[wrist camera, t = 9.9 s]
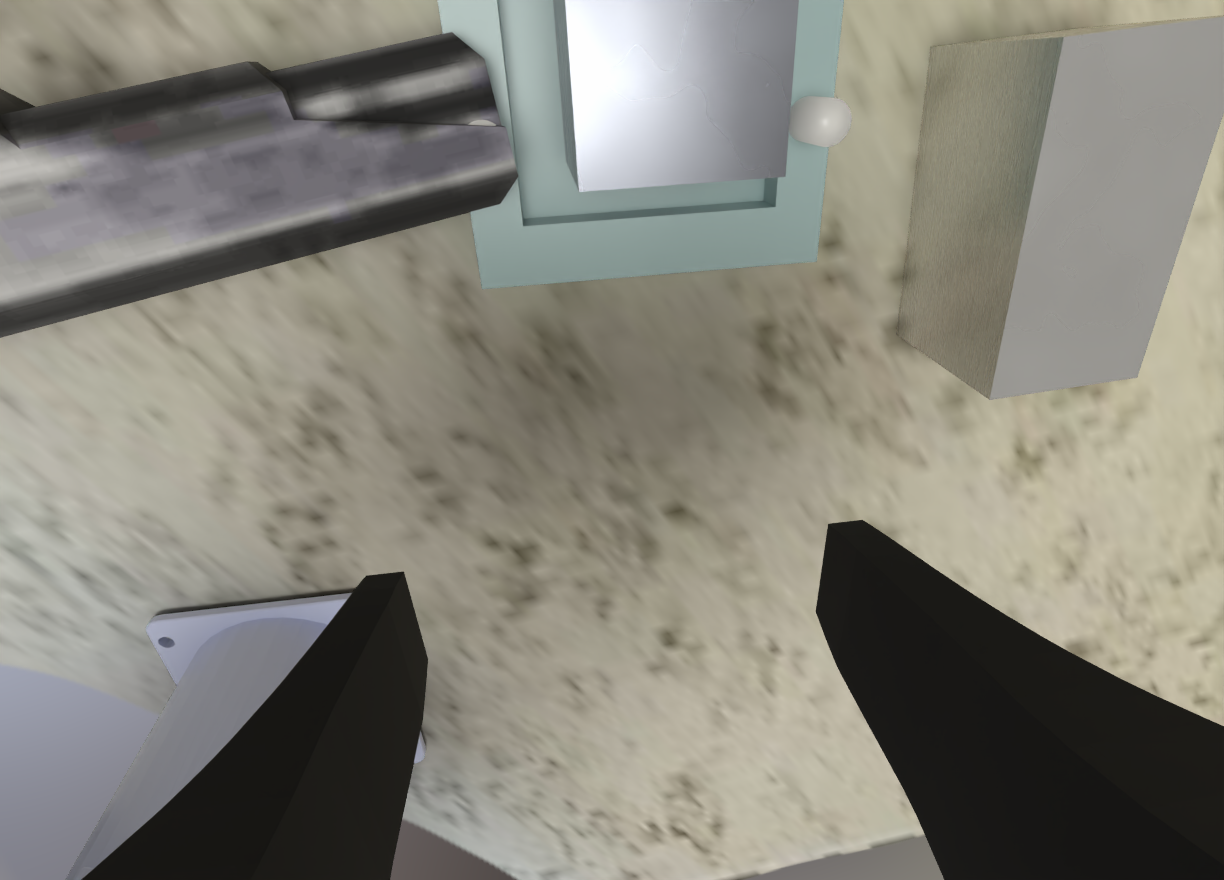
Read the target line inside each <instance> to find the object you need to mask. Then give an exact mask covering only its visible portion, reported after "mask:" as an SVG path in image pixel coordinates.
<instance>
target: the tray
mask: <svg viewBox="0 0 1224 880" xmlns="http://www.w3.org/2000/svg"><path fill="white" fill-rule="evenodd" d="M843 4H844V0H799V6H798V19H797V32H796V45H795V59H794V72H793V85H792V98H791V111H790V124H789V138H788V151H787V164H786V177H778V178H764V179H750V180H737V181H723V182H709V183H695V184H682V185H668V186H654V187H641V188H627V189H613V190H599V191H586V192H579V191H578V189H577V186H576V184H575V181H574V179H573V177H572V174H571V172H570V170H569V167H568V165H567V163H566V156H565V143H564V131H563V119H562V106H561V94H560V81H559V69H558V57H557V44H556V32H555V19H554V7H553V0H438V7H439V13H440V20H441V26H442V33H443V34H445V33H449V32H453V33H454V34H455V35H456V36H457V37H459V38H460V39H461V40H462V41H463V42H465V43H466V44H467V45H468V46H470V47H471V48H472V49H473V50H474V51H476V52H477V53H478V54H479V55H480V56H482V57H483V58H484V59H485V63H486V67H487V71H488V74H489V78H490V82H491V86H492V90H493V94H494V98H495V102H496V106H497V110H498V114H499V117H500V121H501V125H502V126H504V127H506V129H507V133H508V137H509V141H510V145H511V149H512V153H513V157H514V161H515V165H516V169H517V173H518V178H517V179H516V181H515V182H514V184H513V185H512V187H511V189H510V190H509V192H508V193H507V195H506V196H505V198H504V199H503V201H502V202H501V204H498V205H494V206H491V207H487V208H483V209H480V210H476V211H472V212H470V214H471V221H472V227H473V234H474V240H475V247H476V253H477V260H478V266H479V273H480V279H481V286H482V289H491V288H503V287H515V286H527V285H539V284H551V283H564V282H576V281H588V280H600V279H612V278H624V277H636V276H648V275H660V274H672V273H684V272H697V271H709V270H721V269H733V268H745V267H757V266H769V265H781V264H793V263H805V262H817V253H818V244H819V234H820V224H821V215H822V205H823V196H824V186H825V177H826V167H827V157H828V148H829V147H831V146H834V145H836V144H838V143H839V142H841V141H842V140H843V139H844V138H845V136H846V135H847V133H848V131H849V129H850V126H851V121H852V115H851V111H850V108H849V106H848V105H847V103H846V102H844V101H843V100H841V99H839V98H834V90H835V81H836V71H837V62H838V52H839V43H840V33H841V23H842V14H843ZM468 125H483V126H496V124H494V123H492V122H490V121H487V120H476V121H473V122H471V123H469V124H468Z"/></svg>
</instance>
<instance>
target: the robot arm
mask: <svg viewBox="0 0 1224 880" xmlns="http://www.w3.org/2000/svg"><path fill="white" fill-rule="evenodd" d="M816 614H817V616H818V619H819V622H820V624H821V627H822V630H823V632H824V635H825V638H826V640H827V643H828V645H829V648H830V650H831V653H832V655H833V658H834V660H835V663H836V665H837V667H838V669H839V671H840V673H841V675H842V677H843V679H844V681H845V682H846V684H847V686H848V688H849V690H850V692H851V694H852V695H853V697H854V699H855V701H856V703H857V705H858V707H859V708H860V710H861V712H862V714H863V716H864V718H865V719H866V721H867V723H868V725H869V727H870V729H871V730H872V732H873V734H874V736H875V738H876V740H877V741H878V743H879V745H880V747H881V749H882V751H883V752H884V754H885V756H886V758H887V760H888V762H889V763H890V765H891V767H892V769H893V771H894V773H895V774H896V776H897V778H898V780H899V782H900V783H901V785H902V787H903V789H904V791H905V793H906V795H907V797H908V799H909V801H910V803H911V805H912V807H913V809H914V811H915V813H916V815H917V817H918V820H919V822H920V824H921V827H922V829H923V831H924V833H925V836H926V838H927V840H928V843H929V845H930V847H931V850H932V852H933V854H934V857H935V859H936V861H937V864H938V865H939V868H940V871H941V873H942V875H943V878H944V880H1224V726H1222V725H1219V724H1217V723H1215V722H1212V721H1210V720H1208V719H1206V718H1204V717H1201V716H1199V715H1197V714H1195V713H1193V712H1190V711H1188V710H1186V709H1184V708H1182V707H1179V706H1177V705H1175V704H1173V703H1170V702H1168V701H1166V700H1164V699H1162V698H1159V697H1157V696H1155V695H1153V694H1151V693H1149V692H1147V691H1145V690H1143V689H1141V688H1138V687H1136V686H1134V685H1132V684H1130V683H1128V682H1126V681H1124V680H1122V679H1120V678H1118V677H1116V676H1114V675H1112V674H1110V673H1109V672H1107V671H1105V670H1103V669H1101V668H1099V667H1097V666H1095V665H1093V664H1091V663H1089V662H1087V661H1086V660H1084V659H1082V658H1080V657H1078V656H1076V655H1074V654H1072V653H1070V652H1068V651H1067V650H1065V649H1063V648H1061V647H1059V646H1058V645H1056V644H1054V643H1052V642H1051V641H1049V640H1047V639H1045V638H1044V637H1042V636H1040V635H1038V634H1037V633H1035V632H1033V631H1032V630H1030V629H1028V628H1027V627H1025V626H1023V625H1022V624H1020V623H1018V622H1017V621H1015V620H1013V619H1012V618H1010V617H1008V616H1007V615H1005V614H1003V613H1002V612H1000V611H999V610H997V609H995V608H994V607H992V606H991V605H989V604H987V603H986V602H984V601H983V600H981V599H980V598H978V597H977V596H975V595H973V594H972V593H970V592H969V591H967V590H966V589H964V588H963V587H961V586H960V585H958V584H957V583H955V582H954V581H952V580H951V579H949V578H948V577H946V576H945V575H943V574H942V573H940V572H939V571H937V570H936V569H934V568H933V567H931V566H930V565H929V564H927V563H926V562H924V561H923V560H921V559H920V558H918V557H917V556H915V555H914V554H913V553H911V552H910V551H908V550H907V549H905V548H904V547H902V546H901V545H899V544H898V543H897V542H895V541H894V540H892V539H891V538H889V537H888V536H886V535H885V534H883V533H882V532H880V531H879V530H877V529H876V528H874V527H873V526H871V525H870V524H868V523H867V522H865V521H863V520H858V521H849V522H840V523H832V524H828V529H827V536H826V543H825V550H824V557H823V565H822V572H821V579H820V586H819V593H818V600H817V607H816ZM146 632H147V634H148V636H149V638H150V640H151V642H152V643H153V645H154V647H155V649H156V650H157V652H158V654H159V656H160V657H161V659H162V661H163V663H164V664H165V666H166V668H167V670H168V671H169V673H170V675H171V677H172V679H173V680H174V682H175V684H176V686H177V687H176V688H175V690H174V692H173V694H172V695H171V697H170V699H169V701H168V702H167V704H166V706H165V707H164V709H163V711H162V713H161V714H160V716H159V718H158V720H157V721H156V723H155V725H154V727H153V728H152V730H151V732H150V734H149V735H148V737H147V739H146V740H145V742H144V744H143V746H142V748H141V749H140V751H139V753H138V754H137V756H136V758H135V760H134V761H133V763H132V765H131V766H130V768H129V770H128V772H127V773H126V775H125V777H124V779H123V780H122V782H121V784H120V785H119V787H118V789H117V791H116V792H115V794H114V796H113V798H112V799H111V801H110V803H109V805H108V806H107V808H106V810H105V811H104V813H103V815H102V817H101V818H100V820H99V822H98V824H97V825H96V827H95V829H94V831H93V832H92V834H91V836H90V837H89V839H88V841H87V843H86V844H85V846H84V848H83V850H82V851H81V853H80V855H79V857H78V858H77V860H76V862H75V863H74V865H73V867H72V869H71V870H70V872H69V874H68V876H67V878H66V879H65V880H390V877H391V870H392V865H393V859H394V854H395V850H396V845H397V841H398V835H399V831H400V826H401V822H402V817H403V812H404V807H405V803H406V798H407V793H408V788H409V784H410V779H411V774H412V769H413V765H414V763H418V762H420V761H422V760H423V759H424V758H425V753H426V747H425V744H424V740H423V737H422V734H421V731H420V730H421V725H422V720H423V711H424V701H425V691H426V678H427V665H428V658H427V654H426V650H425V647H424V643H423V639H422V636H421V632H420V629H419V625H418V621H417V618H416V614H415V610H414V607H413V603H412V600H411V596H410V592H409V589H408V585H407V581H406V578H405V574H404V572H396V573H387V574H378V575H369V576H366V577H365V578H364V579H363V580H362V581H361V582H360V584H359V585H358V586H357V587H356V589H355V590H354V591H353V593H346V594H337V595H328V596H320V597H311V598H302V599H293V600H285V601H276V602H267V603H258V604H249V605H241V606H232V607H223V608H214V609H206V610H197V611H188V612H179V613H171V614H162V615H157V616H154V617H153V618H152V619H151V620H150V621H149V623H148V624H147V626H146ZM166 637H168V638H166ZM169 638H171V639H169Z"/></svg>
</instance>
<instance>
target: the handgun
mask: <svg viewBox="0 0 1224 880" xmlns="http://www.w3.org/2000/svg"><path fill="white" fill-rule="evenodd" d="M476 120H487V121H490V122H492V123H494V124H496V126H483V125H468V124H469V123H471V122H473V121H476ZM517 178H518V173H517V169H516V165H515V161H514V157H513V153H512V149H511V145H510V141H509V137H508V133H507V129H506V127H504V126H502V125H501V121H500V117H499V114H498V110H497V106H496V102H495V98H494V94H493V90H492V86H491V82H490V78H489V74H488V71H487V67H486V63H485V59H484V58H483V57H482V56H480V55H479V54H478V53H477V52H476V51H474V50H473V49H472V48H471V47H470V46H468V45H467V44H466V43H465V42H463V41H462V40H461V39H460V38H459V37H457V36H456V35H455V34H454V33H453V32H449V33H445V34H440V35H436V36H431V37H426V38H422V39H417V40H413V41H408V42H404V43H399V44H395V45H390V46H385V47H381V48H376V49H372V50H367V51H363V52H358V53H354V54H349V55H345V56H340V57H335V58H331V59H326V60H322V61H317V62H313V63H308V64H304V65H299V66H294V67H290V68H285V69H281V70H276V71H272V72H271V71H270V70H268V69H267V68H265V67H264V66H262V65H261V64H259V63H258V62H243V63H238V64H233V65H229V66H224V67H220V68H215V69H210V70H206V71H201V72H196V73H192V74H187V75H183V76H178V77H173V78H169V79H164V80H159V81H155V82H150V83H146V84H141V85H136V86H132V87H127V88H122V89H118V90H113V91H109V92H104V93H99V94H95V95H90V96H85V97H81V98H76V99H71V100H67V101H62V102H58V103H53V104H48V105H44V106H39V107H35V106H33V105H31V104H29V103H27V102H25V101H23V100H21V99H19V98H17V97H15V96H13V95H11V94H10V93H8V92H6V91H4V90H2V89H0V338H1V337H4V336H8V335H12V334H15V333H19V332H23V331H27V330H30V329H34V328H38V327H42V326H45V325H49V324H53V323H57V322H60V321H64V320H68V319H72V318H75V317H79V316H83V315H87V314H90V313H94V312H98V311H102V310H105V309H109V308H113V307H117V306H120V305H124V304H128V303H132V302H135V301H139V300H143V299H146V298H150V297H154V296H158V295H161V294H165V293H169V292H173V291H176V290H180V289H184V288H188V287H191V286H195V285H199V284H203V283H206V282H210V281H214V280H218V279H221V278H225V277H229V276H233V275H236V274H240V273H244V272H248V271H251V270H255V269H259V268H262V267H266V266H270V265H274V264H277V263H281V262H285V261H289V260H292V259H296V258H300V257H304V256H307V255H311V254H315V253H319V252H322V251H326V250H330V249H334V248H337V247H341V246H345V245H349V244H352V243H356V242H360V241H364V240H367V239H371V238H375V237H378V236H382V235H386V234H390V233H393V232H397V231H401V230H405V229H408V228H412V227H416V226H420V225H423V224H427V223H431V222H435V221H438V220H442V219H446V218H450V217H453V216H457V215H461V214H465V213H468V212H472V211H476V210H480V209H483V208H487V207H491V206H494V205H498V204H501V202H502V201H503V199H504V198H505V196H506V195H507V193H508V192H509V190H510V189H511V187H512V185H513V184H514V182H515V181H516V179H517Z"/></svg>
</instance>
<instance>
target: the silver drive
mask: <svg viewBox="0 0 1224 880" xmlns="http://www.w3.org/2000/svg"><path fill="white" fill-rule="evenodd" d="M1223 113H1224V15H1223V16H1211V17H1200V18H1188V19H1177V20H1165V21H1154V22H1142V23H1131V24H1119V25H1108V26H1097V27H1085V28H1075V29H1067V30H1059V31H1051V32H1043V33H1035V34H1027V35H1019V36H1011V37H1003V38H996V39H988V40H980V41H972V42H964V43H956V44H948V45H940V46H932V47H930V55H929V64H928V72H927V81H926V89H925V98H924V106H923V114H922V123H921V131H920V140H919V148H918V157H917V165H916V173H915V182H914V190H913V199H912V207H911V216H910V224H909V232H908V241H907V249H906V258H905V266H904V275H903V283H902V291H901V300H900V308H899V317H898V325H897V333H896V335H898V336H899V337H901V338H902V339H904V340H905V341H906V342H908V343H909V344H911V345H912V346H914V347H915V348H916V349H918V350H919V351H921V352H922V353H924V354H925V355H926V356H928V357H929V358H931V359H932V360H933V361H935V362H936V363H938V364H939V365H941V366H942V367H943V368H945V369H946V370H948V371H949V372H951V373H952V374H953V375H955V376H956V377H958V378H959V379H961V380H962V381H963V382H965V383H966V384H968V385H969V386H970V387H972V388H973V389H975V390H976V391H978V392H979V393H980V394H982V395H983V396H985V397H986V398H988V399H989V400H992V399H999V398H1005V397H1012V396H1019V395H1025V394H1032V393H1038V392H1045V391H1051V390H1058V389H1065V388H1071V387H1078V386H1084V385H1091V384H1098V383H1104V382H1111V381H1117V380H1124V379H1131V378H1137V377H1138V373H1139V370H1140V367H1141V364H1142V361H1143V358H1144V355H1145V352H1146V349H1147V346H1148V343H1149V340H1150V337H1151V334H1152V331H1153V328H1154V324H1155V321H1156V318H1157V315H1158V312H1159V309H1160V306H1161V303H1162V300H1163V297H1164V294H1165V291H1166V288H1167V285H1168V282H1169V279H1170V275H1171V272H1172V269H1173V266H1174V263H1175V260H1176V257H1177V254H1178V251H1179V248H1180V245H1181V242H1182V239H1183V236H1184V233H1185V230H1186V226H1187V223H1188V220H1189V217H1190V214H1191V211H1192V208H1193V205H1194V202H1195V199H1196V196H1197V193H1198V190H1199V187H1200V184H1201V181H1202V178H1203V174H1204V171H1205V168H1206V165H1207V162H1208V159H1209V156H1210V153H1211V150H1212V147H1213V144H1214V141H1215V138H1216V135H1217V132H1218V129H1219V125H1220V122H1221V119H1222V116H1223Z"/></svg>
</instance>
